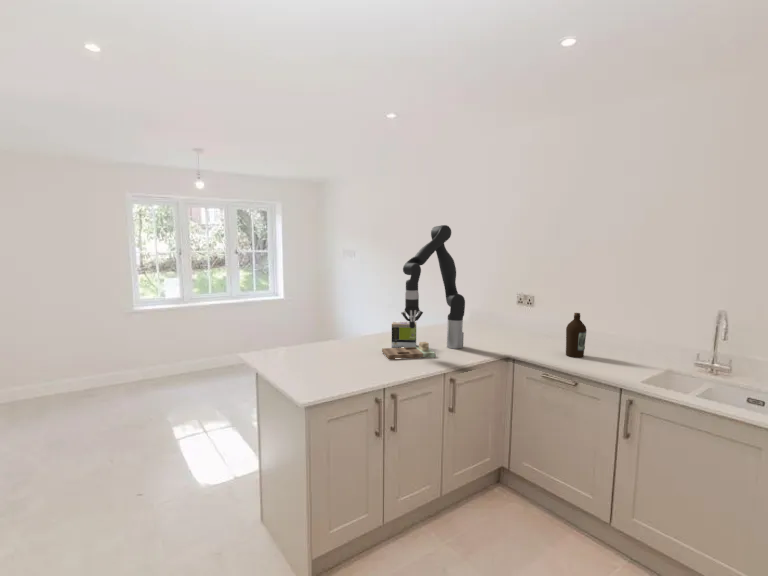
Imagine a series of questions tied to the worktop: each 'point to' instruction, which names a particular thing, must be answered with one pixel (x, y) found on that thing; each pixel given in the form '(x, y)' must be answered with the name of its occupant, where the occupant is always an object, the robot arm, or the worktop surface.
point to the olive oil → (575, 337)
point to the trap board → (407, 352)
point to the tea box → (403, 335)
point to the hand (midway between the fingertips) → (412, 328)
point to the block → (423, 346)
